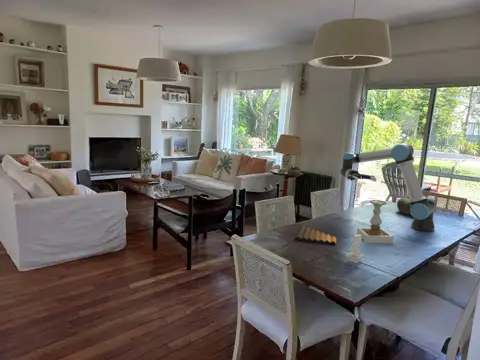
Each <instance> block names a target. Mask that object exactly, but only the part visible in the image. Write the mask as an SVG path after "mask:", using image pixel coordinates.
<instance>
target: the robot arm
mask: <svg viewBox="0 0 480 360" xmlns="http://www.w3.org/2000/svg"><path fill="white" fill-rule="evenodd" d="M414 152H415V150H414V147H413V145H411V144H410V143H406V142H404V143H403V142H402V143H397V144H396V145H394V146H393V147H389V148H383V149H376V150H371V151H366V152H365V151H364V152H360V153H359V152H358V153H353V152H347V151H345V152H344V153H343V156H342V167H341V168H340V170H339V173H340V175H341V177H344V178H346V179H347V180H349V181H354V182H356V183H357V182H358V181H359V180H370V181H372V182H377V177H376V176H375V175H374V174H371V175H370V174H364V173H363V174H362V173H360V172H359V171H358V170H355V169H353V167H354V164H360V163H368V162H375V161H382V160H389V159H393V160H394V161H395V165H396V166H398V168H399V170H400V172H401V175H402V177H403V181H404V183H405V184H404V185H405V187H406V190H407V193H408V195H409V197H410V200H409V204H410V207H411V208H410V213H411V214H410V215H411V217H413V219H412V222H411V225H410V227H411V228H412V229H413V230H416V231H419V232H426V233H427V232H434V231H435V224H434V213H435V206H436V200H435V199H434V198H430V197H427V196H425V195H424V193H423V191H422V188H421V187H422V186H421V185H420V182H419V178H418V176H417V172H416V170H415V166H414V164H413V162H414V160H415V159H414V156H413V155H414Z"/></svg>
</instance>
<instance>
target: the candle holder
mask: <svg viewBox="0 0 480 360" xmlns="http://www.w3.org/2000/svg"><path fill="white" fill-rule="evenodd" d="M369 203H370V204H372V205H373V207H374V208H373V209H372V212H373V216H372V217H371V218H370V219H369V223H370V224H371V225H370V227H369V228H371V229H369V230H366V231H365V233H367V234H368V235H377V236H384V235H383V233H382V232H381V231H380V230H379V229H380V228H381V225H382V224H383V220H382V219H381V216H380V214H382V211H381V207H382V206H385V205H387V202H386V201H385V200H378V199H372V200H371V199H370V200H369Z"/></svg>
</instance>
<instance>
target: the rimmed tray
mask: <svg viewBox="0 0 480 360" xmlns="http://www.w3.org/2000/svg"><path fill="white" fill-rule="evenodd" d="M369 229H371V227H357V230H356V235H358V234H360V235H362V238H361V240H363V241H364V242H365V243H367V244H368V243H369V244H394V237H395V236H394V235H392V234H391V233H390V232H388V231H387V230H385V229H384V228H382V227H380V229H379V230H380V231H381V232H382V233H383V235H384V236H377V235H368V234H367V233H365V231H366V230H369Z"/></svg>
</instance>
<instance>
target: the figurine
mask: <svg viewBox="0 0 480 360" xmlns="http://www.w3.org/2000/svg"><path fill="white" fill-rule="evenodd" d="M361 244H362V235H360V234H358V235H357V234H354V235H353V242H352V243H351V247H350V252H348V253H347V254H346V258H347V260H348V261H349V262H351V263H354V264H359V263H360V262H361V260H362V259H363V257H365V256H364V255H365V254H362V253H360V252H359V249H360V248H359V247H360V245H361Z"/></svg>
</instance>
